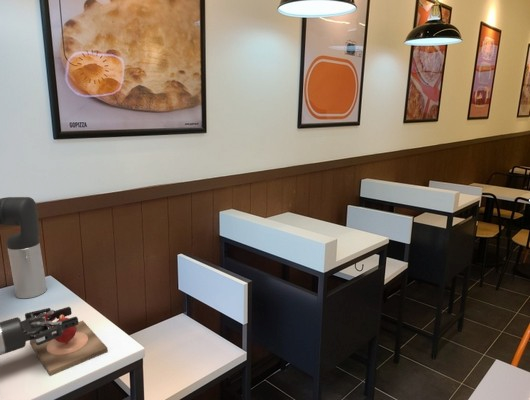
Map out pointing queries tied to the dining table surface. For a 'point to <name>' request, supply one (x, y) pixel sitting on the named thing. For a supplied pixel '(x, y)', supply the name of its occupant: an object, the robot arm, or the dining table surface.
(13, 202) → the robot arm
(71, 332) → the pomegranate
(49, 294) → the dining table surface
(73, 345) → the serving board
